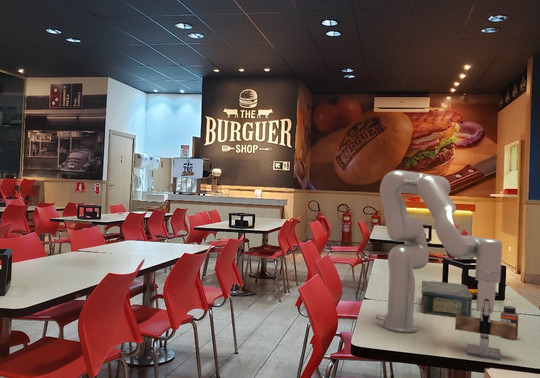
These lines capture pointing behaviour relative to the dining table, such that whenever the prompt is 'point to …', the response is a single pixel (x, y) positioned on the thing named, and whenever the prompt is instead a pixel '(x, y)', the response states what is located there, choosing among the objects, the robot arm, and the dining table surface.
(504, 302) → the dining table surface
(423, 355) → the dining table surface
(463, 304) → the metal box
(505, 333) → the beam
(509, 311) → the supplement bottle
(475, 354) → the stand
